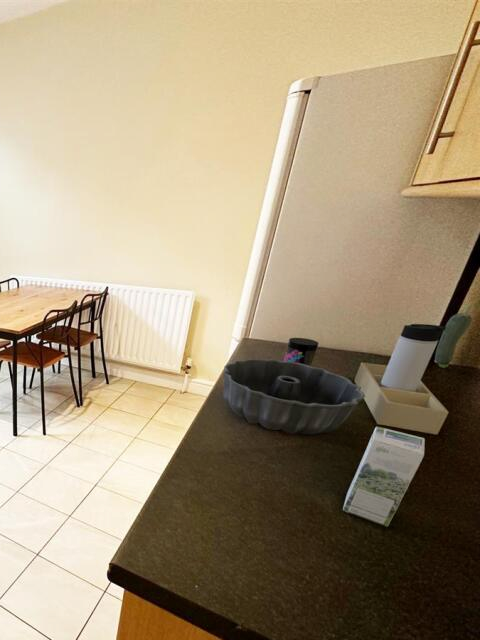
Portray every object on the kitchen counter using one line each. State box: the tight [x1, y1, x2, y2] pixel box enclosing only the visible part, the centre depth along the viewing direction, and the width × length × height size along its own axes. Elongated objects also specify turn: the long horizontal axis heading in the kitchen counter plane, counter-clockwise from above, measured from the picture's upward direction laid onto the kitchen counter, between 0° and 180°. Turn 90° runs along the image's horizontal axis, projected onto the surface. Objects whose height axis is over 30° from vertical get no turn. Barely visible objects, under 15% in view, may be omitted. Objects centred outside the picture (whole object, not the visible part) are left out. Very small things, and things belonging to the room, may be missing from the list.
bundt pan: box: [222, 358, 365, 436], centre depth 97 cm, size 26×26×10 cm
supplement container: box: [282, 337, 319, 367], centre depth 119 cm, size 7×7×10 cm
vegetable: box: [434, 300, 479, 369], centre depth 120 cm, size 4×4×20 cm
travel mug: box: [379, 323, 446, 392], centre depth 98 cm, size 6×7×20 cm
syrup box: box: [342, 426, 426, 528], centre depth 66 cm, size 6×6×14 cm
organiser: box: [354, 362, 449, 435], centre depth 102 cm, size 10×28×6 cm, turn 148°
